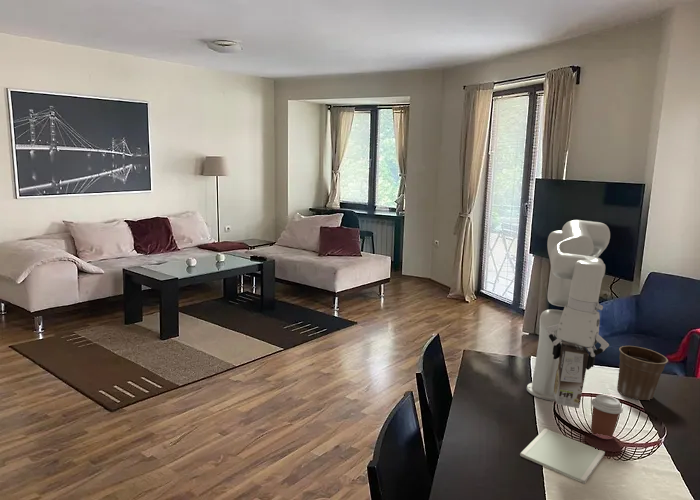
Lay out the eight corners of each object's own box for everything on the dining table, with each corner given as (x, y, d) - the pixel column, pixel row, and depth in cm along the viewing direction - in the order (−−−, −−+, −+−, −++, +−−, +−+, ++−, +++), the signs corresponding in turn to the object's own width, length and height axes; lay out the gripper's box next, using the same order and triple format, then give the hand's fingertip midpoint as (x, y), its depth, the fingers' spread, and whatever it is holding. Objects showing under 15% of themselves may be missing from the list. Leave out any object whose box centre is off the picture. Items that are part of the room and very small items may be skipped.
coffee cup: (618, 445, 168) (625, 409, 166) (586, 437, 171) (593, 402, 169) (615, 431, 177) (622, 397, 174) (585, 424, 180) (591, 390, 177)
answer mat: (544, 430, 173) (545, 428, 173) (604, 454, 162) (605, 451, 162) (520, 455, 158) (520, 452, 158) (584, 483, 147) (585, 480, 147)
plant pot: (667, 399, 205) (676, 358, 201) (645, 408, 195) (654, 365, 192) (625, 381, 218) (633, 343, 214) (603, 389, 208) (610, 349, 205)
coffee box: (580, 409, 153) (589, 354, 150) (555, 404, 154) (564, 350, 151) (575, 395, 161) (584, 343, 158) (552, 391, 163) (560, 339, 160)
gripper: (619, 310, 150) (608, 369, 153) (556, 295, 160) (546, 350, 164) (611, 315, 144) (600, 377, 147) (546, 299, 155) (537, 356, 158)
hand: (572, 362), depth 156 cm, fingers closed on coffee box, 8 cm apart
